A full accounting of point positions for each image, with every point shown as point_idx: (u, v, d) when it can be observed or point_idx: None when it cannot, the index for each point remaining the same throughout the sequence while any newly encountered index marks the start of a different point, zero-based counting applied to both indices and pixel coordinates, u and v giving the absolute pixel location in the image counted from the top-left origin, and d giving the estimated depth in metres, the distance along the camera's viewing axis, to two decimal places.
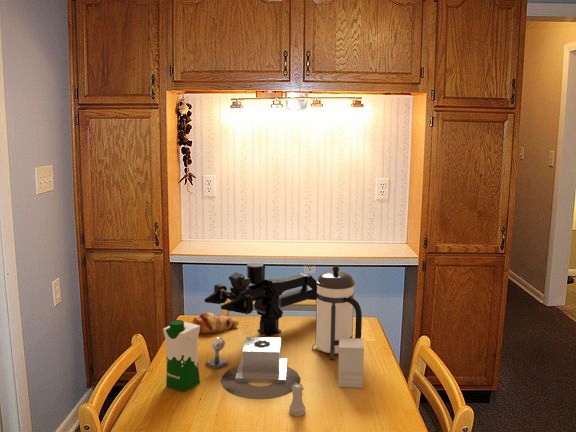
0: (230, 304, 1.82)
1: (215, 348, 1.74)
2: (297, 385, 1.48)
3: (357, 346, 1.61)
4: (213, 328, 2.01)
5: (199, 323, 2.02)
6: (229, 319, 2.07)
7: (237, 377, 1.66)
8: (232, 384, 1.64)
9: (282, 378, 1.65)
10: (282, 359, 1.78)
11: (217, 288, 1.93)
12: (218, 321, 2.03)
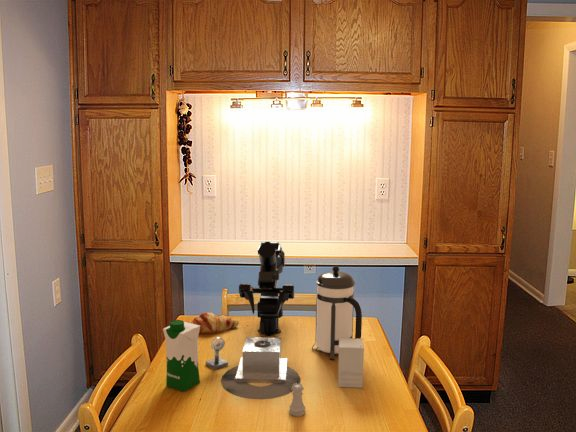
0: (280, 305, 1.85)
1: (215, 348, 1.74)
2: (297, 385, 1.48)
3: (357, 346, 1.61)
4: (213, 328, 2.01)
5: (199, 323, 2.02)
6: (229, 319, 2.07)
7: (237, 377, 1.66)
8: (232, 384, 1.64)
9: (282, 378, 1.65)
10: (282, 359, 1.78)
11: (249, 292, 1.86)
12: (218, 321, 2.03)
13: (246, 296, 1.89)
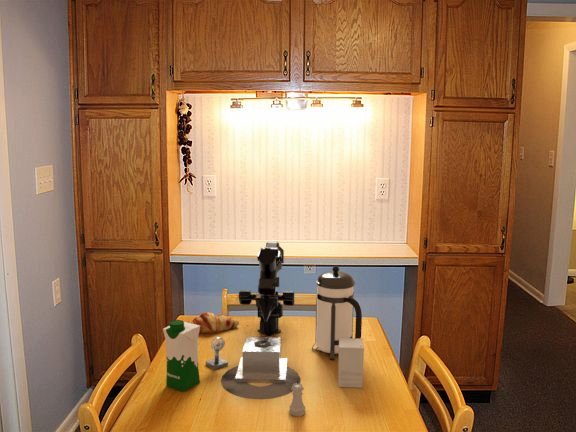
0: (269, 312, 1.84)
1: (215, 348, 1.74)
2: (297, 385, 1.48)
3: (357, 346, 1.61)
4: (213, 328, 2.01)
5: (199, 323, 2.02)
6: (229, 319, 2.07)
7: (237, 377, 1.66)
8: (232, 384, 1.64)
9: (282, 378, 1.65)
10: (282, 359, 1.78)
11: (261, 299, 1.84)
12: (218, 321, 2.04)
13: (257, 303, 1.87)
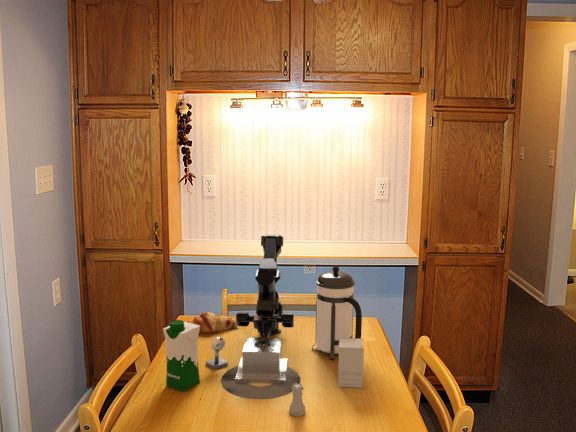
0: (268, 335, 1.78)
1: (215, 348, 1.74)
2: (297, 385, 1.48)
3: (357, 346, 1.61)
4: (213, 327, 2.02)
5: (199, 323, 2.02)
6: (229, 319, 2.07)
7: (237, 377, 1.65)
8: (232, 384, 1.64)
9: (282, 378, 1.65)
10: (282, 359, 1.78)
11: (259, 322, 1.78)
12: (218, 321, 2.04)
13: (255, 325, 1.81)
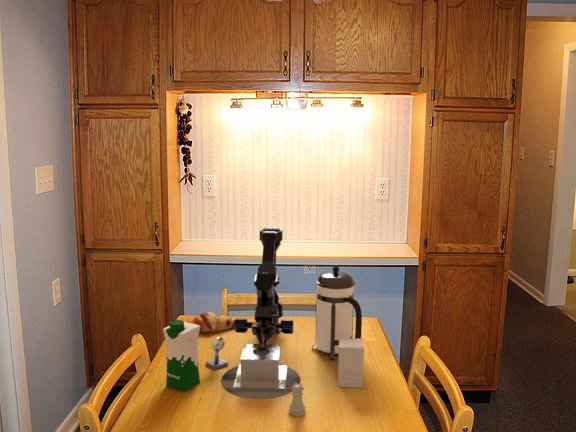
0: (266, 342, 1.73)
1: (215, 348, 1.74)
2: (297, 385, 1.48)
3: (357, 346, 1.61)
4: (213, 327, 2.02)
5: (199, 322, 2.03)
6: (229, 319, 2.07)
7: (235, 386, 1.60)
8: (232, 384, 1.64)
9: (281, 386, 1.60)
10: (281, 366, 1.73)
11: (257, 328, 1.73)
12: (218, 321, 2.04)
13: (254, 332, 1.76)
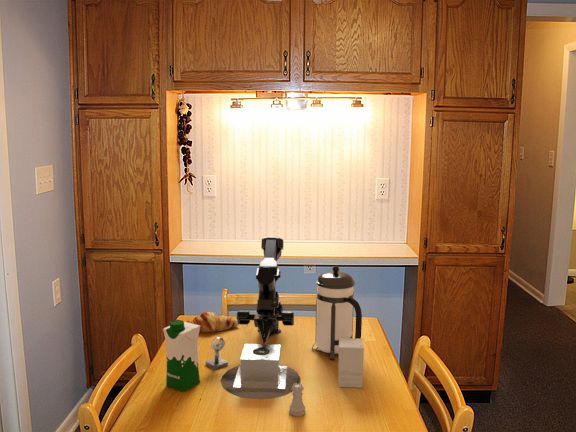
0: (268, 333, 1.80)
1: (215, 348, 1.74)
2: (297, 385, 1.48)
3: (357, 346, 1.61)
4: (213, 327, 2.02)
5: (199, 322, 2.03)
6: (229, 319, 2.07)
7: (235, 386, 1.60)
8: (232, 384, 1.64)
9: (281, 387, 1.60)
10: (281, 366, 1.73)
11: (259, 320, 1.80)
12: (218, 321, 2.04)
13: (256, 324, 1.83)
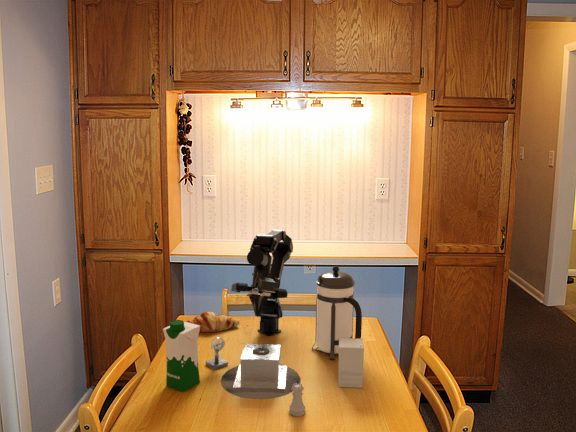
0: None
1: (215, 348, 1.74)
2: (297, 385, 1.48)
3: (357, 346, 1.61)
4: (213, 327, 2.02)
5: (199, 322, 2.03)
6: (230, 319, 2.07)
7: (235, 386, 1.60)
8: (232, 384, 1.64)
9: (281, 387, 1.60)
10: (281, 366, 1.73)
11: (257, 296, 1.85)
12: (218, 320, 2.04)
13: (250, 295, 1.88)
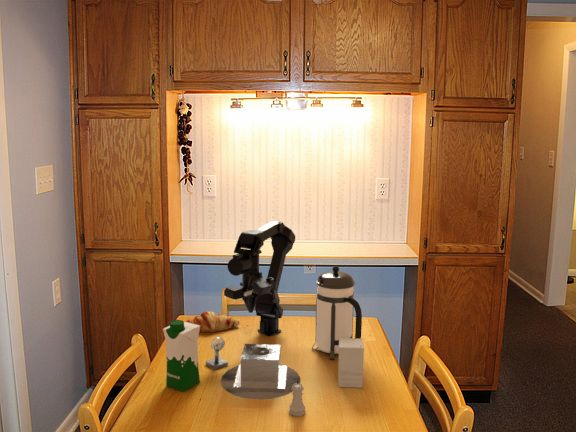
0: None
1: (215, 348, 1.74)
2: (297, 385, 1.48)
3: (357, 346, 1.61)
4: (212, 327, 2.02)
5: (199, 321, 2.03)
6: (229, 319, 2.07)
7: (235, 386, 1.60)
8: (232, 384, 1.64)
9: (281, 387, 1.60)
10: (281, 366, 1.73)
11: (251, 297, 1.86)
12: (218, 320, 2.04)
13: None
